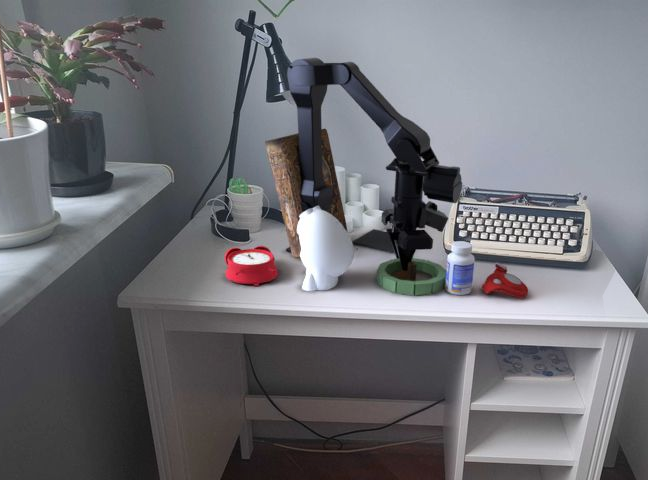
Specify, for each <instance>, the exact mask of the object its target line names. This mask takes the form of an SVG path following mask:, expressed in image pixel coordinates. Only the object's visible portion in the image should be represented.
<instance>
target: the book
mask: <svg viewBox="0 0 648 480" xmlns="http://www.w3.org/2000/svg"><path fill="white" fill-rule="evenodd" d="M264 144H265V148H266V152H267V156H268V160H269V164H270V169H271V174H272V178H273V182H274V185H275V186H274V187H275V190H276V193H277V198H278V202H279V207H280V211H281V214H282V220H283V219H284V220H283V224H284V227H285V231H286V235H287V240H288V243H289V247H290V248H291V252H290V253H291V256H292V257H293V258H295V259H297V260H302V259H301V257H300V252H301V244H300V239H299V234H298V233H297V226H298V222H299V220H300V217H299V216H300V215H301V214H302V209H301V205H300V203H301V202H302V200H301V196H300V190H301V176H300V163H299V138H298V132H297V133H293V134H289V135H286V136H281V137H278V138H277V137H276V138H273V139H269V140H265V141H264ZM334 161H335V160H334V156H333V152H332V147H331V142H330V137H329V132H328V130H327V129H326V128H322V170H323V179H324V181H325V183H326V185H327V186H329V185H332V187H333V191H332V199H333V202H334V203H333V204H331V208H330V210H329V211H328V213H330V214H331V215H333V216H334V217H335V218H336V219H337V220H338V221H339V222H340V223H341V224H342V225H343V227H344V229H345V230H346V231H347V232H348V231H349V230H348V226H347V225H348V224H347V220H346V216H345V211H344V205H343V201H342V196H341V190H340V185H339V182H338V176H337V172H336V167H335V162H334ZM348 233H349V232H348Z"/></svg>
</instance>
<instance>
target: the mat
mask: <svg viewBox="0 0 648 480" xmlns="http://www.w3.org/2000/svg"><path fill="white" fill-rule="evenodd" d="M352 243H353V246H359V247H364V248H368V249H373V250H376V251H377V250H378V251H381V252H387V253H391V254H395V252H394V249H393V247H392V244H391V241H390V238H389V236H388V233H387V231H385V230H379V229H375V228H374V229H372V230H369V231H368V232H366V233H363V235H361V236H359V237H357V238H355V239H354V240H352Z"/></svg>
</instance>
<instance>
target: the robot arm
mask: <svg viewBox="0 0 648 480" xmlns="http://www.w3.org/2000/svg"><path fill="white" fill-rule="evenodd" d="M286 78H287V82H288V83H287V84H288V89H289V93H290V95H291V98H292V99H293V101H294V103H295V105H296V110H297V114H296V115H297V133H298V138H299V163H300V176H301V190H300V196H301V200H302V202H301V203H300V205H301V209H302V213H303V212H304V211H306V210H308V209H310V208H314V207H316V206H319V207H320V208H321V210H323V211H326V212H328V211H329V210H330V208H331V204H333V203H334V202H333V199H332V191H333V187H332V185H329V186H327V185H326V183H325V181H324V179H323V170H322V129H323V128H322V106H323V103H324V101H325V97H326V95H327V93H328V86H333V85H335V86H336V85H338V86H341V88H343V89H344V91H345V92H346V93H347V94H348V96H350V97H351V99H353V101H354V102H355V103H356V104H357V105H358V106H359V107H360V108H361V109H362V110H363V112H364V113H365V114H366V115H367V116H368V117H369V118H370V119H371V120H372V121H373V122H374V124H375V125H376V126H377V127H378V128H379V129H380V131H381V132H382V134H383V136H384V139H385V141H386V144H387V146H388V147H389V149H390V151H391V152H392V154H393V155H394V156H395V157H394V158H393V160H392V161H391V162H390V163H389V164H388V165H386V166H385V170H386V171H390V172H391V171H392V172H395V179H394V196H391V198H390V199H391V200H390V201H391V203H392V204H393V208H386V209H384V211H382V212H381V218H380V219H381V223H382V224H383V225H384V226H387V225H388V223H389V225H390V227H389V228H386V231H385V232H387V233H388V236H389V238H390V241H391V244H392V247H393V249H394V255H395V259H400V263H401V266H402V269H403V270H408V262H411V261H412V258H414V256H415V253H416V252H417V251H419V250H432V249H433V246H434V238H432V236H431V235H430V234H429V233H428V232H427V231H426V230H425V229H426V227H429V228H431V229H435V230H437V232H440V233H443V232H444V230H445V227H446V225H447V222H448V221H449V217H448V216H447V215H446V214H445V213H444V212H443V211H441V210H439V209H438V204H436V203H435V202H433V201H439V202H444V203H445V202H446V203H451V204H457V203H458V202H459V200H460V197H461V194H462V190H463V182H462V175H461V167H459V166H447V165H441V164H440V161H439V159H438V158H437V156H436V153H435V152H434V150H433V148H432V146H431V138H430V136H429V134H428V132H427V131H426V130H424V129H423V128H422V127H421V126H420V125H418V124H417V123H415V122H414V121H412V120H411V119H409V118H407V117H405V116H403V115H402V114H401V113H399V112H398V110H397V109H396V108H395V107H394V106H393V105H392V104H391V103H390V101H389V100H388V99H386V97H385V96H384V95H383V94H382V93H381V92H380V91H379V90H378V89H377V87H376V86H375V85H374V84H373V83H372V82H371V80H369V78H367V77H366V75H365V74H364V73H363V72H362V71H361V69H360V67H359V66H358V65H357V64H356V63H355V62H353V61H346V62H324V61H323V60H322V59H320V58H318V57H308V58H300V59H294V60H293V61H292V62H291V63H290V64H289V65H288V67H287V70H286ZM423 195H424V196H426V198H427V199H428V200H429V201H428V202H427V203H426V202H425V201H424V200H423V197H424V196H423ZM431 200H433V201H431ZM282 220H283V221H284V219H283V218H282ZM285 251H286V252H287V253H292V252H291V248H290V246H289V247H287V248H285Z"/></svg>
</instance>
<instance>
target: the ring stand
mask: <svg viewBox="0 0 648 480" xmlns="http://www.w3.org/2000/svg"><path fill="white" fill-rule="evenodd" d="M416 268H417V263H416V262H408V270H398V271H395V272H393V273H391V274H390V275H389V276H392V277H395V278H397V279H400V280H407V281H424V280H430V279H432V278H434V277H433V276H432V275H430V274H429V273H426V272H424V271H420V270H416Z"/></svg>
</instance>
